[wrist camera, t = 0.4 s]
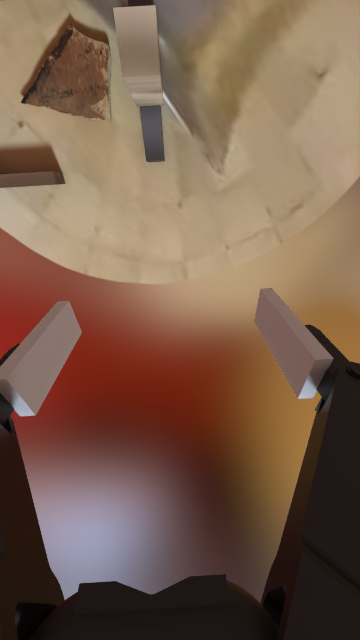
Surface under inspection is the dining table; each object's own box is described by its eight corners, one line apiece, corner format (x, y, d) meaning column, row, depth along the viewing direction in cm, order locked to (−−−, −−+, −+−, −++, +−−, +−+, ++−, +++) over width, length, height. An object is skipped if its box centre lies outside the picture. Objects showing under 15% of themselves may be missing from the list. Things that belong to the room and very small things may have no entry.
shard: (27, 106, 27) (19, 102, 26) (11, 10, 23) (0, -2, 22) (112, 126, 29) (109, 123, 27) (112, 39, 24) (109, 30, 23)
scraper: (127, 1, 23) (93, -136, 13) (156, -1, 23) (145, -139, 13) (145, 162, 31) (133, 155, 21) (167, 161, 31) (165, 153, 21)
